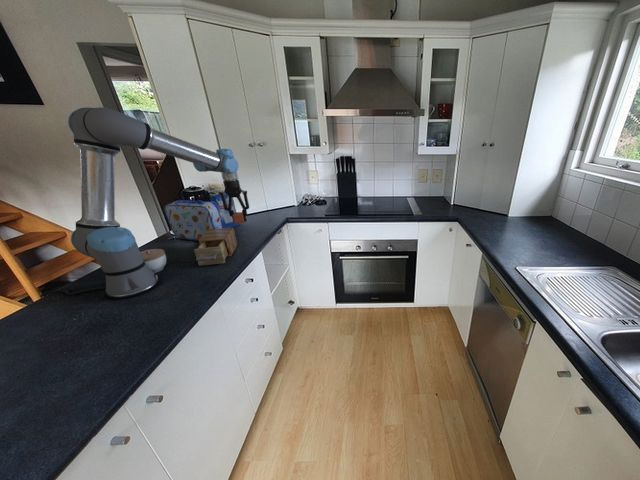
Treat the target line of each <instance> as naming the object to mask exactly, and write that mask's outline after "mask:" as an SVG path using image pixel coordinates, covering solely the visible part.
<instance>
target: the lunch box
mask: <svg viewBox="0 0 640 480" xmlns="http://www.w3.org/2000/svg"><path fill="white" fill-rule="evenodd" d="M163 210H164V214H165V216H166V219H167V223H169V226H170V229H171V231H172V233H173V235H174V236H175V237H176V238H179V239H182V240H183V239H184V240H191V241H199V239H200V238H201V237H202V236H203V235H204V233H205V232H206V231H207V230H208V229H219V228H224V227H223V223H222V217H223V215H222V213H220V210H219V207H218V206H217V205H216V204H215V203H213V202H211V201H206V200H205V201H203V200H200V199H199V200H190V199H189V200H187V199H177V200H175V201H173V202H171V203H168V204H166V205H165V206H164V208H163Z"/></svg>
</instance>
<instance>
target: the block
mask: <svg viewBox="0 0 640 480" xmlns="http://www.w3.org/2000/svg"><path fill="white" fill-rule="evenodd" d="M233 219H234V224H236V223H239V224H245V222H244V218H243V213H242V211H238V212H237V211H236V213H234V214H233Z"/></svg>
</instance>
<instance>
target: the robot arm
mask: <svg viewBox="0 0 640 480" xmlns="http://www.w3.org/2000/svg"><path fill="white" fill-rule="evenodd" d="M67 124H68V128H69V130H70V131H71V133H72V134H73V145H75V146H76V147H77V148H78V149H79V150H80V185H81V186H80V192H81V193H80V198H81V201H80V202H81V203H80V204H81V217H80V218H79V219H77V220H75V230H73V232H72V233H71V235H70V243H71V245H72V247H73V248H74V249H75V250H76V251H77V252H78V253H80V254H82V255H84V256H86V257H90V258H91V259H94V260H96V261H97V262H98V264H99V266H100V268H101V270H102V272H103V275H105V285H104V286H97V287H92V288H87V289H83V290H79V291H75V292H74V291H73V292H69V290H66V289H55V290H54V289H52V290H48V291H45V292H43V293H42V294H40V296H39V297H40V298H43V297H45V296H46V295H47V294H48V295H49V294H53V293H55V292H54V291H57V290H59V291H57V292H56V293H65V294H66V295H68V296H73V295H79V294H84V293H87V292H92V291H97V290H103V289H105V293H106V295H107V297H108V298H110V299H114V300H115V299H116V300H119V299H121V300H122V299H128V298H133V297H136V296H140V295H143V294H145V293H147V292H149V291H151V290H152V289H154V288H155V287H156V286H157V285H158V284H159V283H160V280H159V277H158V275H157V274H155V273H153V272H152V271H151V270H150V269H149V268H148V267H147V266H146V264H145V262H144V260H143V257H142V255H141V253H140V252H141V250H140V247H139V245H138V243H137V240H136V237H135V235H134V234H133V233H132V231H131V230H130V229H128V228H126V227H122V226H121V223H120V222H118V221H117V220H116V218H115V216H116V215H115V214H116V213H115V209H116V207H115V206H116V205H115V203H116V202H115V200H116V199H115V198H116V197H115V196H116V193H115V192H116V191H115V187H116V186H115V183H116V182H115V179H116V178H115V177H116V176H115V175H116V173H115V171H116V161H115V159H116V156H117V155H119V154H120V153H121V146H124V147H125V146H126V147H131V148H135V149H138V150H143V151H144V150H146V149H148V150H151V151H154V152H157V153H161V154H163V155H167V156H170V157H172V158H173V157H174V158H177V159H179V160H182V161H186V162H189V163H192V165H193V167H194V169H195V171H197V172H200V173H203V172H204V173H206V172H216V173H220V174H221V179H222V180H223V181H222V184H223V188H224V190H223V191H220V192H219V193H220V195H221V197H222V201H223V205H224V210H227V211H229V214H230V217H232V219H233V214H234V211H233V210H232V198H233V199H234V198H236V199H237V201H238V203H239V205H240V206H241V208H242V210H241V212H242V213H243V218H244V223H246V222H247V220H248V219H247V216H248V212H247V210H249V209H250V203H249V198H248V191H247V190H243V189H242V188H241V184H240V180H239V175H238V170H239V163H238V160H236V158H235V155H234V152H233V150H232V149H231V148H218V149H216V150H215V151H213V150H210V149H207V148H205V147H202V146H199V145H197V144H194V143H192V142H189V141H186V140H184V139H182V138H178V137H176V136H173V135H170V134H168V133H165V132H162V131H161V130H157V129H156V128H155V129H154V128H152V127H151V125H150V124H149V123H147V122H145V121H142V120H139V119H137V118H135V117H133V116H130V115H128V114H125V113H122V112H120V111H118V110H115V109H112V108H109V107H101V106H100V107H90V106H89V107H88V106H87V107H79V108H78V109H75V110H74V111H72V112H71V113H70V114H69V115H68V117H67ZM225 193H226V194H227V195H228V196H229V205H228V207H227V202H226V198H225ZM241 194H242V195H243V198H242V196H241ZM243 199H244V200H243ZM233 223H234V219H233ZM60 290H61V291H60Z"/></svg>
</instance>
